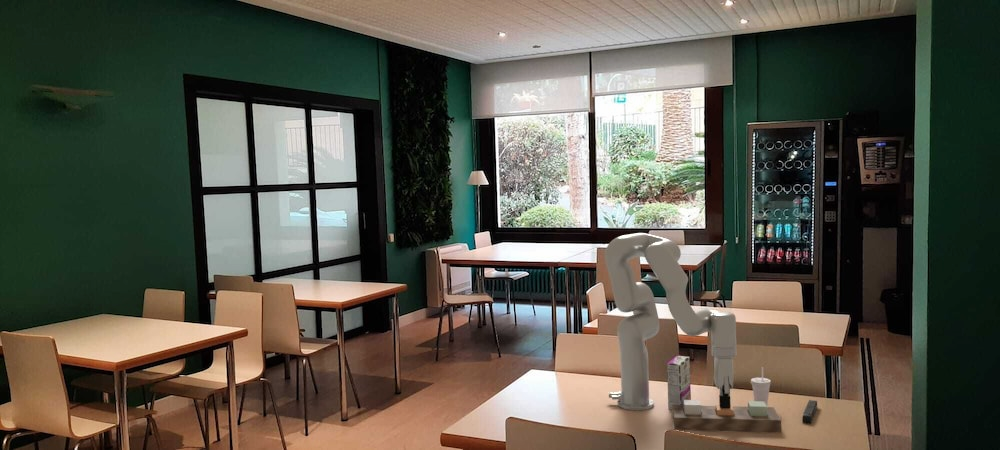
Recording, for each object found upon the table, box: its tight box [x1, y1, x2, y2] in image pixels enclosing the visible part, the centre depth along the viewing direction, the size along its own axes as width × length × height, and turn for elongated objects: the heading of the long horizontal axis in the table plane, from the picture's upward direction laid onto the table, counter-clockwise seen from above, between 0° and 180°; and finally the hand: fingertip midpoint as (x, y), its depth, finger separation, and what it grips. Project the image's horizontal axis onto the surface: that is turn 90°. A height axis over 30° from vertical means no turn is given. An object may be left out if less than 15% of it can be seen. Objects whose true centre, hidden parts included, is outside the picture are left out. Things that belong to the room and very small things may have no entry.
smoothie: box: [750, 367, 772, 407], centre depth 238 cm, size 6×6×14 cm
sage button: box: [747, 400, 768, 416], centre depth 222 cm, size 5×5×4 cm
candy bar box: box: [666, 355, 692, 411], centre depth 243 cm, size 11×5×16 cm, turn 148°
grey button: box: [684, 399, 702, 415], centre depth 226 cm, size 5×5×4 cm
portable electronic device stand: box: [802, 399, 818, 425], centre depth 229 cm, size 18×3×3 cm, turn 149°
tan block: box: [715, 404, 734, 416], centre depth 224 cm, size 5×5×4 cm
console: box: [671, 405, 783, 434], centre depth 224 cm, size 32×12×4 cm, turn 79°
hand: (725, 407), depth 224 cm, fingers closed
